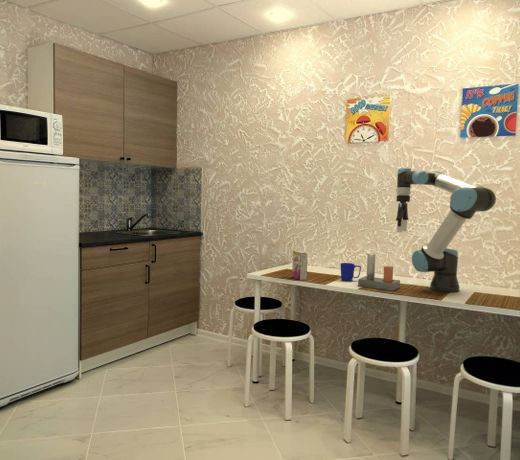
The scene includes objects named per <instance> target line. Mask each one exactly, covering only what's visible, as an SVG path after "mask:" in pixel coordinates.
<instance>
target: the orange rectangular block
mask: <svg viewBox="0 0 520 460" xmlns="http://www.w3.org/2000/svg"><path fill="white" fill-rule="evenodd" d="M393 276H394V266H392V265H384V266H383V277H382V278H383V281H386V282H393V280H394V278H393Z"/></svg>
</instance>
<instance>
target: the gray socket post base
mask: <svg viewBox="0 0 520 460" xmlns="http://www.w3.org/2000/svg"><path fill="white" fill-rule="evenodd" d="M366 257H367V259H366V275H365V276H363V277H360V278H357V282H358V283H357V287H360V288H361V287H363V288H369V289H375V290H376V289H378V290H385V291H393V292H394V291H396V290H397V289H399V288H400V287H401V286H400V285H401V280H400V279H393V282H386V281H383V277H376V275H375V272H376V254H375V253H367V256H366Z"/></svg>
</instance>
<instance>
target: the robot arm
mask: <svg viewBox="0 0 520 460" xmlns="http://www.w3.org/2000/svg"><path fill="white" fill-rule="evenodd" d="M396 178H397V180H396V181H397V182H396V183H397V184H396V189H395V192H396V194H397V195H396V202H399V203H398V206H397V214H396V218H395V221H396V222H397V223H396V233H403V232H407V231H408V230H407V229H408V221H409V213H408V203H409V202H411V187H412V185H418V186H419V185H420V186H421V185H424V186H425V185H426V186H434V187H436V188H438V189H441V190H444V191H446V192H448V193H450V194H451V195H450V197H449V200H450V201H449V209H450V210H449V212H448V214H447V215H446V217H445V218H444V219H443V221H442V223H441V224H440V225H439V227H438V228H437V231H436V232H435V233H434V235H433V236H432V238H431V239H430V240H429V242H428V243H425V244H423V245H422V247H421V248H420V250H419V249H418V250H415V251H414V252H413V253H412V256H411V264H412V266H413V268H414V269H415V270H416V271H417V272H419V273H432V272H433V277H432V279H431V281H430V284H429V289H431V290H434V291H437V292H444V293H457V292H460V284H459V280H458V277H457V276H458V275H457V274H458V262H459V261H458V259H459V252H458V250H457V249H455V248H454V249H452V248H448V246H449V245H450V243H452V240H453V239H454V238H455V236H456V235H457V233H458V232H459V231H460V229H461V228H462V226H463V225H464V224H465V222H466V221H467V220H470V219H472V218H473V217H474V215H475V214H476V212H487V211H490V210H491V209H493V208H494V206H495V204H496V202H497V197H496V193H495V192H494V191H493V190H492V189H490V188H488V187H484V186H481V185H477V186H475V185H472V184H470V183H467V182H464V181H462V180H458V179H456V178H453V177H451V176H448V175H446V174H445V173H444V172H441V171H427V170H412V168H410V167H399V168H398V169H397V177H396ZM407 202H408V203H407Z"/></svg>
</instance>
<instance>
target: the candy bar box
mask: <svg viewBox="0 0 520 460" xmlns="http://www.w3.org/2000/svg"><path fill="white" fill-rule="evenodd" d="M308 254H309V253H308V252H305V251H302V250H292V261H291V262H292V265H291V267H292V269H291V271H292V274H291V276H292V278H294V279H297V280H299V281H307V279H308Z"/></svg>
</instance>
